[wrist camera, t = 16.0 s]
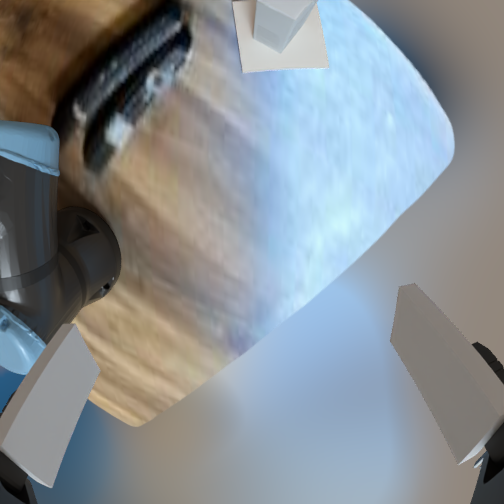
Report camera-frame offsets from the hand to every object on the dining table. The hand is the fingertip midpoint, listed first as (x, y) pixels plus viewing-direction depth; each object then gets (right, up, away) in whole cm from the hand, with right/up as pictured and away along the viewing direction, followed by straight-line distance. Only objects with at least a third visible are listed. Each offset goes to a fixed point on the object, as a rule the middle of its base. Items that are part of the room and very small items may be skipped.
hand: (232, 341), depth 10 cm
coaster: (+4, +31, +18) cm, 36 cm away
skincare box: (+4, +31, +18) cm, 36 cm away
